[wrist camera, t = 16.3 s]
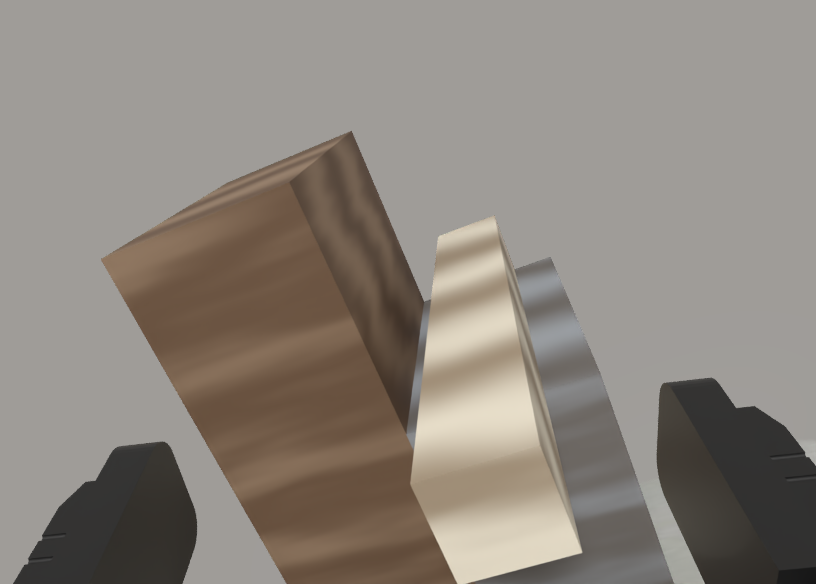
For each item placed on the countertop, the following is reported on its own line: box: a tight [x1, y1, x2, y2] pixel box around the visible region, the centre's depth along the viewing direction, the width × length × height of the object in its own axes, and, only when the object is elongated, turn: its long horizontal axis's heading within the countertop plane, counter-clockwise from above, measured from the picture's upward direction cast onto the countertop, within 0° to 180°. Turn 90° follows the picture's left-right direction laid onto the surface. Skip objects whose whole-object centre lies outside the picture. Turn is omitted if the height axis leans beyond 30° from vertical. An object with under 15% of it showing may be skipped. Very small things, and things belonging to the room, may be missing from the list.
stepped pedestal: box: [101, 131, 674, 584], centre depth 36 cm, size 15×16×32 cm
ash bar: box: [410, 216, 582, 584], centre depth 29 cm, size 24×4×4 cm, turn 176°
